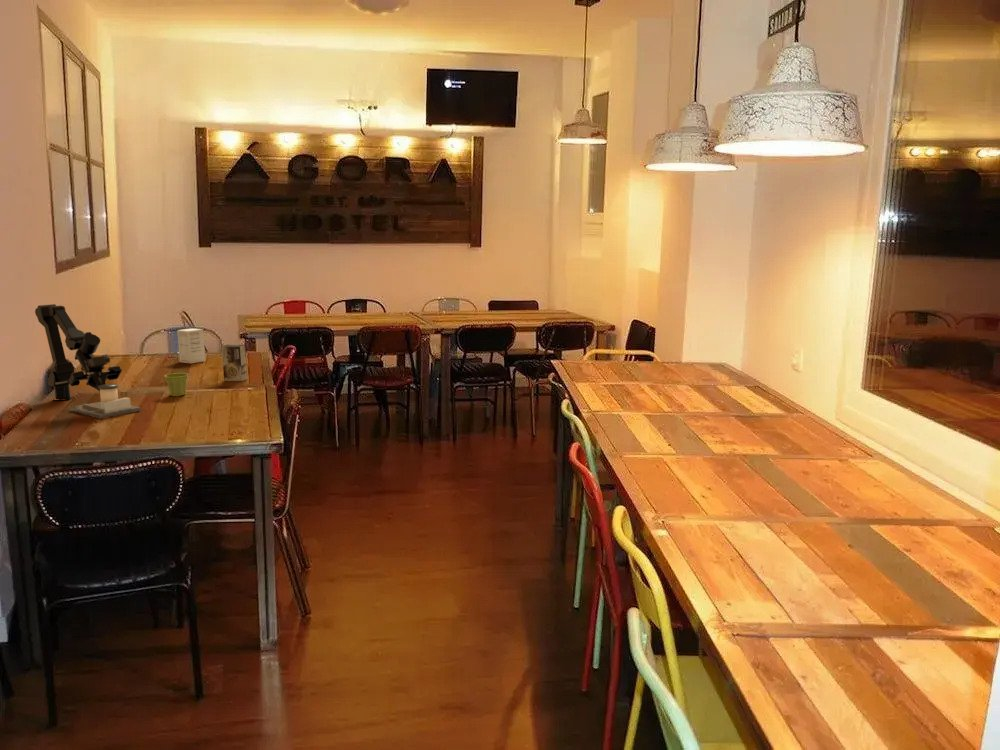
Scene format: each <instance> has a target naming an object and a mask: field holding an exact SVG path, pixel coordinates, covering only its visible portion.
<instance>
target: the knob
mask: <svg viewBox="0 0 1000 750" xmlns="http://www.w3.org/2000/svg"><path fill="white" fill-rule="evenodd" d="M98 387H99V389H100V391H99V394H100V396H99V397H100V402H102V401H108V400H114V399H119V393H118V392H119V391H118V388H119V384H118V383H105V384H103V385H99V386H98Z"/></svg>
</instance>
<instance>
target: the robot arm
mask: <svg viewBox="0 0 1000 750" xmlns="http://www.w3.org/2000/svg"><path fill="white" fill-rule="evenodd" d="M34 313H35V316H36V318H37V321H38V322H39V324H41V325H42V326H43V327H44V330H45V335H46V338H47V343H48V347H49V351H50V355H51V360H52V364H51V365H50V368H49V371H50V374H49V376H48V378H47V379H46V381H47V384H48V386H50V387H53V389H54V390H53V391H54V398H56V399H70V398H71V399H73V398H74V395H71V389H70V388H71V387H75V386H79V385H80V383H81V382H80V381H86V383H85V385H86V386H90V387H91V388H93V389H95V390H97V391H99V392H100V389H99V387H98V386H99V385H103V384H106V381H107V380H109V381H112V380H118V379H119V377H120V375H121V373H122V371H123V370H122V368H121V366H119V365H113V366H109V367H108V369H107V370H104V369H105V367H104V366H105V365H107V364H109V363H110V362H111V358H110V357H109V355H108V354H102V355H101V356H95V355H94V354H95V353H96V352H97V350H98V347H99V345H100V344H101V338H100V337H99V336H98V335H96V334H93V333H92V332H91V331H88V332H84V331H82V330H81V329H78V328H77V327H76V325H75V323H74V322H73V320H72V319H71V318H70V316H69V315H68V313H67V311H66V308H65V306H64V305H56V304H55V303H54V304H40V305H37V307H36V308H35V310H34ZM59 329H60V330H61V331H62V333H63V335H64V336H65V340H64V343H65V345H66V347H67V349H68V350H70V351H76V352H75V355H74V360H78V362H79V364H80V366H81V368H80V371H75V370H74V366H73V362H72V361H69V360H68V359H66V355H65V349H64V347H63V342H62V337H61V334H60V333H61V332H60V330H59ZM72 397H73V398H72ZM71 399H70V400H71Z"/></svg>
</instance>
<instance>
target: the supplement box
mask: <svg viewBox="0 0 1000 750" xmlns="http://www.w3.org/2000/svg"><path fill="white" fill-rule="evenodd" d="M176 333H177V342H178V343H177V345H178V355H179V363H185V364H195V363H202V362H206V361H207V360H206V350H205V337H204V329H203V328H192V327H191V328H184V329H178V330H177V332H176Z"/></svg>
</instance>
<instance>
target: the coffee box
mask: <svg viewBox="0 0 1000 750" xmlns="http://www.w3.org/2000/svg"><path fill="white" fill-rule="evenodd" d="M220 348H221V355H222V356H221V357H222V369H223V370H222V371H223V381H224V382H244V381H246V380H248V369H247V368H248V366H247V353H246V352H247V351H246V344H225V345H223V346H221V347H220Z"/></svg>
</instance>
